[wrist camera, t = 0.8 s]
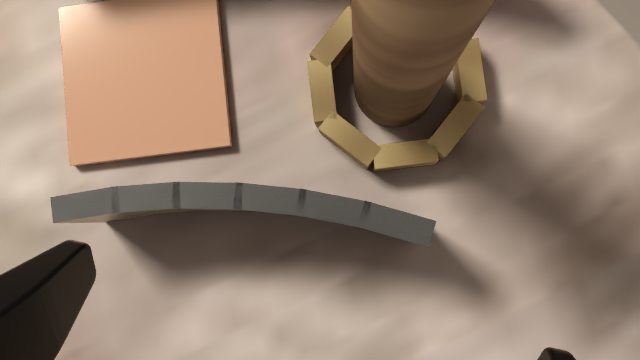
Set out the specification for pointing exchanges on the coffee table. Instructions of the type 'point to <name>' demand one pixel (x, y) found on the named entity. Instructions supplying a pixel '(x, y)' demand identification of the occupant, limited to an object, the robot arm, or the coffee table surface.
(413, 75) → the brown cylinder
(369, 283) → the coffee table surface
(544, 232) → the coffee table surface
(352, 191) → the coffee table surface
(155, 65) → the tile
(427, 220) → the gray curved bar
